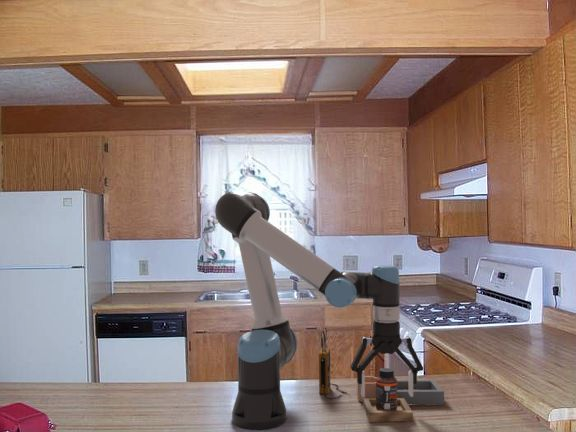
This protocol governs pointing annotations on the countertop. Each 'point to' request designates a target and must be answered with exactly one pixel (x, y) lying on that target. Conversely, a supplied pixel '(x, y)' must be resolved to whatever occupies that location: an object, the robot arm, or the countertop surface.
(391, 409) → the supplement bottle
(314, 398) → the countertop surface
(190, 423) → the countertop surface
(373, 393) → the empty cup
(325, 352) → the multimeter
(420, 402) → the tray
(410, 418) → the square wooden tray
